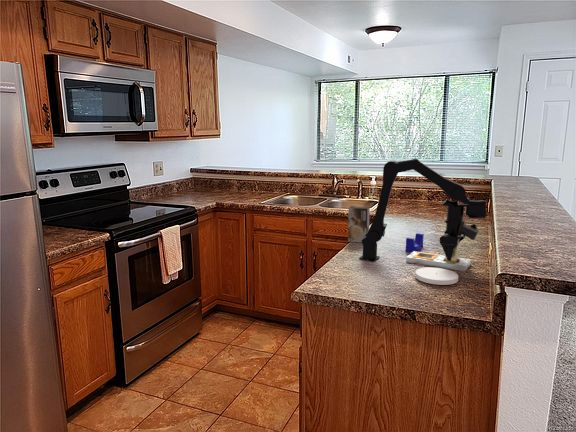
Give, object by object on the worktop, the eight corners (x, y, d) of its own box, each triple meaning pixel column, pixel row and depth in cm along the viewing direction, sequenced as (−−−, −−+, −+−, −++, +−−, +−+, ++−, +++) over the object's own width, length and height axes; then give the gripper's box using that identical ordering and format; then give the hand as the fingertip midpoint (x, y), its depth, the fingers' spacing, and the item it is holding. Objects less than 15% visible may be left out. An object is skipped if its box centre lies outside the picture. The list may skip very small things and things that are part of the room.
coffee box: (369, 240, 204) (370, 206, 201) (367, 243, 198) (368, 208, 195) (350, 238, 207) (351, 205, 204) (347, 241, 201) (348, 207, 198)
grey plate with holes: (465, 271, 158) (466, 265, 158) (406, 261, 169) (406, 256, 169) (470, 264, 166) (470, 258, 166) (413, 255, 178) (413, 250, 177)
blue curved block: (415, 253, 182) (416, 239, 181) (405, 251, 185) (406, 238, 183) (426, 247, 191) (427, 234, 190) (416, 246, 194) (417, 233, 193)
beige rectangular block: (455, 267, 163) (457, 244, 161) (444, 265, 165) (446, 242, 163) (457, 264, 166) (459, 242, 164) (447, 263, 168) (448, 240, 166)
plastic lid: (466, 286, 144) (467, 278, 143) (428, 289, 141) (428, 281, 141) (443, 272, 157) (443, 266, 157) (407, 275, 154) (408, 268, 154)
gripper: (473, 224, 150) (470, 267, 153) (481, 215, 165) (478, 254, 168) (440, 220, 156) (437, 262, 159) (451, 212, 171) (448, 250, 174)
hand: (451, 257), depth 165 cm, fingers open, 9 cm apart
